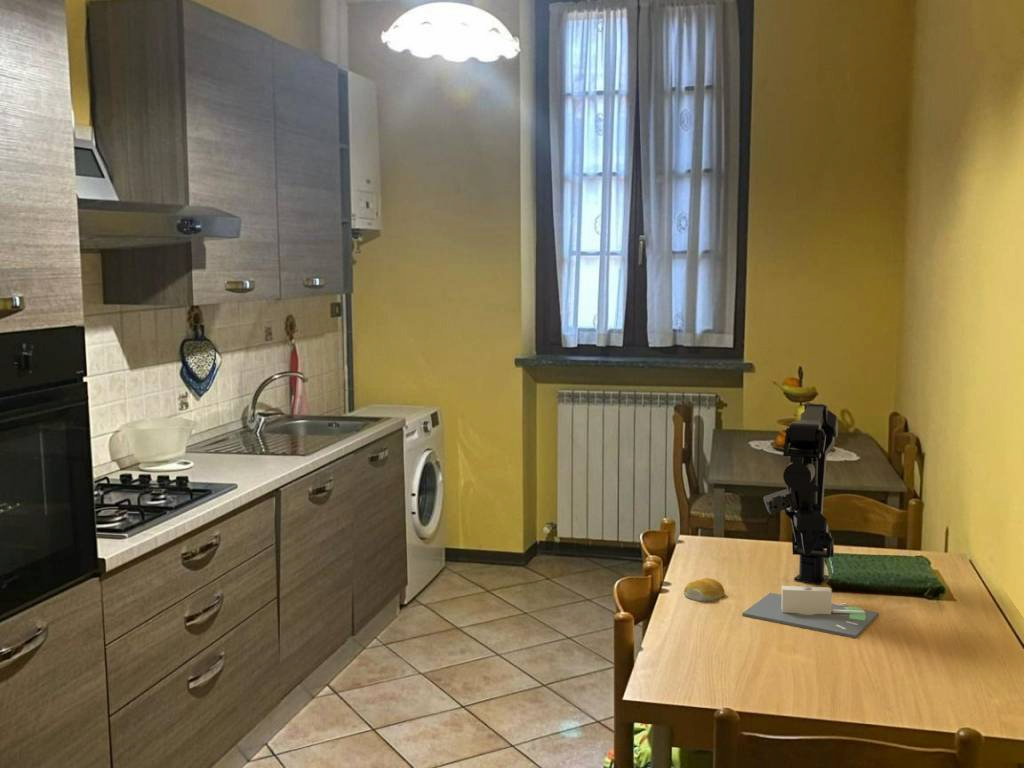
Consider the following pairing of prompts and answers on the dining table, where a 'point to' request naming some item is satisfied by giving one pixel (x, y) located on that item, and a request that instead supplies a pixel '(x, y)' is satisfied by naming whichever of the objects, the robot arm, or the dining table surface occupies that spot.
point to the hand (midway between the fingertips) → (802, 548)
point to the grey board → (813, 617)
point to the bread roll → (704, 590)
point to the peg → (809, 600)
